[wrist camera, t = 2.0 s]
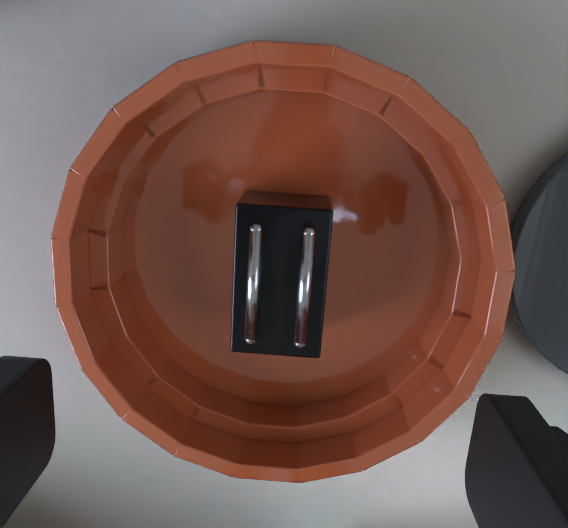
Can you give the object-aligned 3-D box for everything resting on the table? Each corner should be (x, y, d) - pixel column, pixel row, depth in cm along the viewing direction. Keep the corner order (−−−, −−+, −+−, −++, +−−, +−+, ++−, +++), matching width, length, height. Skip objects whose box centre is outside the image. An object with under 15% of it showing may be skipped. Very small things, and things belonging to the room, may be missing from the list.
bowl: (86, 39, 18) (36, 25, 15) (511, 66, 18) (558, 58, 14) (101, 410, 22) (64, 465, 19) (446, 437, 22) (471, 498, 19)
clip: (244, 189, 19) (233, 205, 16) (330, 195, 19) (334, 212, 16) (239, 321, 20) (227, 358, 17) (318, 327, 20) (320, 366, 17)
